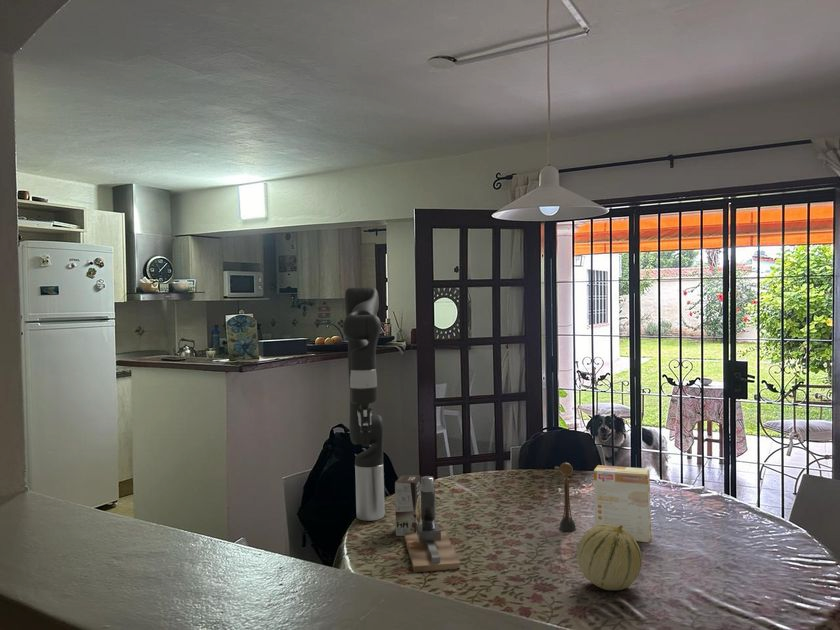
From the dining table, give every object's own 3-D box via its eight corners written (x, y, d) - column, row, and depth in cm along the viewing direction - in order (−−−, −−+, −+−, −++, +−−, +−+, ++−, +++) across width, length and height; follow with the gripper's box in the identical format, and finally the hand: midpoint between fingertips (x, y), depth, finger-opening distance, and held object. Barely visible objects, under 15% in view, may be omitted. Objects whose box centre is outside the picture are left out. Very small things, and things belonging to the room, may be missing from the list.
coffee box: (416, 537, 184) (415, 482, 184) (395, 536, 186) (393, 482, 186) (422, 526, 193) (421, 474, 193) (402, 525, 195) (400, 474, 195)
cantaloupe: (569, 576, 155) (568, 515, 155) (626, 572, 156) (625, 512, 156) (590, 603, 140) (589, 537, 140) (653, 599, 142) (652, 533, 141)
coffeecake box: (651, 535, 181) (650, 468, 181) (649, 543, 175) (647, 474, 175) (598, 528, 188) (597, 464, 188) (594, 536, 181) (593, 469, 181)
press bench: (404, 538, 183) (404, 528, 183) (444, 535, 185) (444, 525, 185) (414, 572, 160) (413, 560, 160) (460, 568, 161) (459, 557, 161)
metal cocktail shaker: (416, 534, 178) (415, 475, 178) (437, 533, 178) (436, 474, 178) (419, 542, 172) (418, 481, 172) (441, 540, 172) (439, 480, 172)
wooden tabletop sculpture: (554, 529, 188) (552, 463, 188) (558, 524, 192) (556, 459, 192) (573, 532, 185) (572, 465, 185) (577, 527, 189) (576, 461, 189)
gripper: (378, 387, 169) (380, 447, 169) (375, 382, 183) (377, 437, 183) (350, 389, 168) (352, 449, 168) (350, 383, 182) (351, 438, 182)
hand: (365, 442), depth 176 cm, fingers open, 8 cm apart
